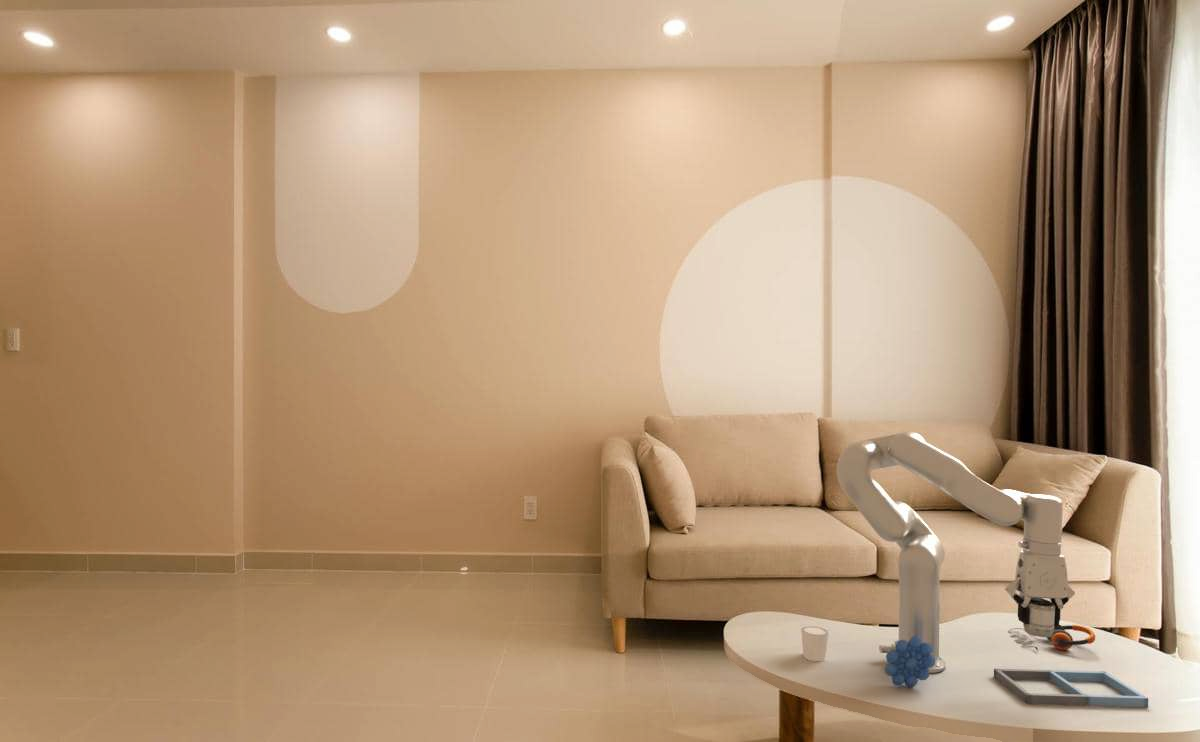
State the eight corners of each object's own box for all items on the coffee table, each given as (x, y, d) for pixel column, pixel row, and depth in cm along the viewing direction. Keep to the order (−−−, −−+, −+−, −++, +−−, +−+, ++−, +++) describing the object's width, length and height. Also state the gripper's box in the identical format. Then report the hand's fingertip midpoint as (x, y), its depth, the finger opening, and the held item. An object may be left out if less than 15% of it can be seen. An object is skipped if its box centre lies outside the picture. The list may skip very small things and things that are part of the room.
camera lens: (1033, 626, 169) (1035, 594, 169) (1059, 636, 164) (1061, 602, 163) (1016, 629, 167) (1018, 597, 167) (1042, 639, 161) (1043, 605, 161)
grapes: (926, 679, 170) (927, 630, 170) (939, 692, 163) (940, 641, 163) (878, 678, 170) (879, 628, 170) (888, 690, 163) (889, 639, 163)
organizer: (1027, 703, 158) (1027, 695, 158) (993, 676, 172) (993, 668, 172) (1148, 707, 157) (1148, 698, 157) (1104, 679, 171) (1104, 671, 171)
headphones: (1002, 620, 204) (1079, 612, 199) (1006, 638, 204) (1083, 631, 199) (1019, 642, 188) (1103, 634, 183) (1023, 661, 188) (1108, 654, 182)
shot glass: (799, 660, 180) (799, 633, 180) (802, 650, 186) (802, 624, 186) (827, 664, 177) (827, 637, 177) (829, 654, 184) (829, 628, 184)
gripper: (1013, 550, 161) (1010, 627, 162) (1089, 553, 161) (1086, 630, 161) (996, 542, 169) (993, 615, 169) (1068, 544, 168) (1065, 618, 169)
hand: (1038, 622), depth 165 cm, fingers closed on camera lens, 6 cm apart
